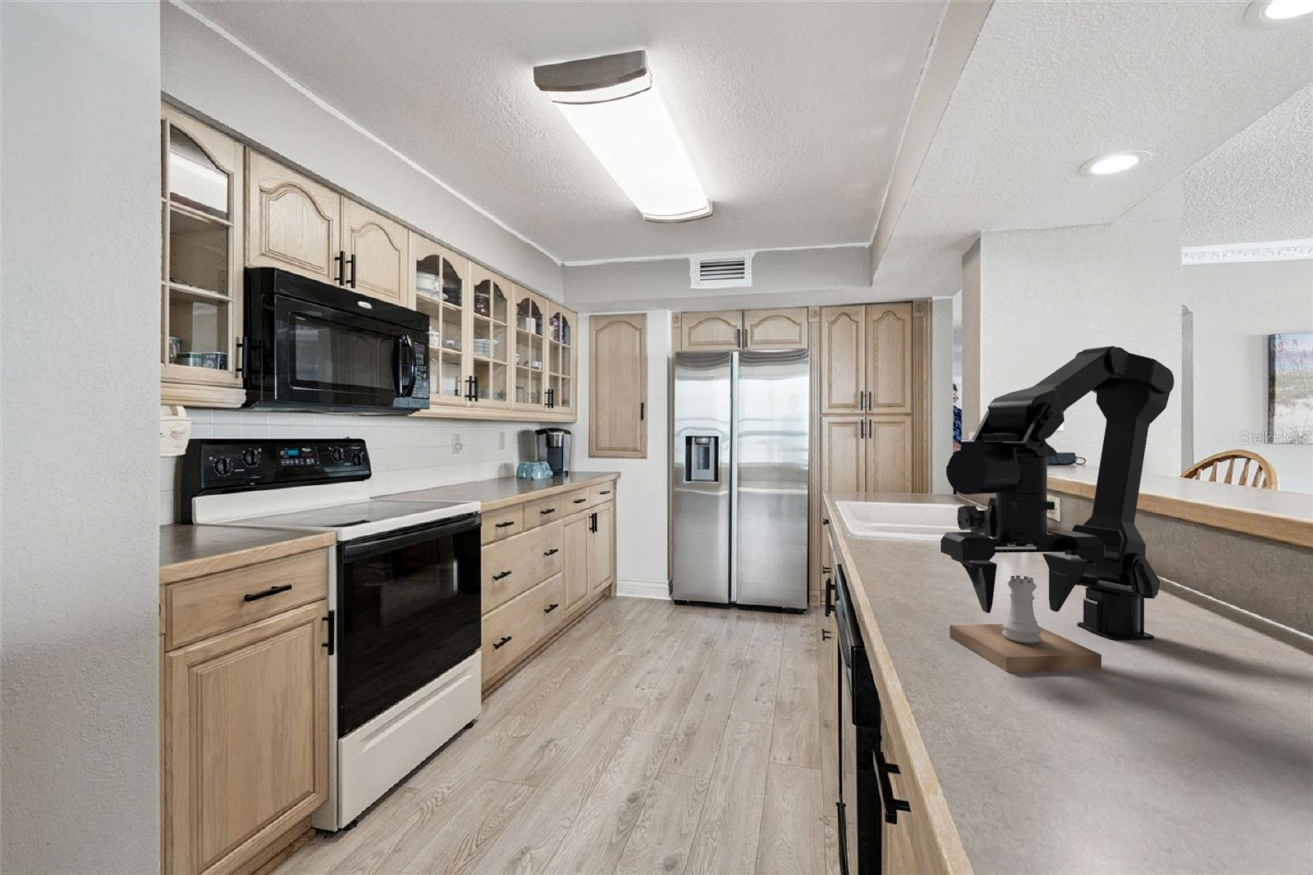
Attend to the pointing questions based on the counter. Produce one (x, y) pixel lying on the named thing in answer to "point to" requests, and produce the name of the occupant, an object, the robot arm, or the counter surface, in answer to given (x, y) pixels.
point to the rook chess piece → (1021, 613)
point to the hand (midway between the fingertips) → (1020, 611)
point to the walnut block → (1025, 650)
